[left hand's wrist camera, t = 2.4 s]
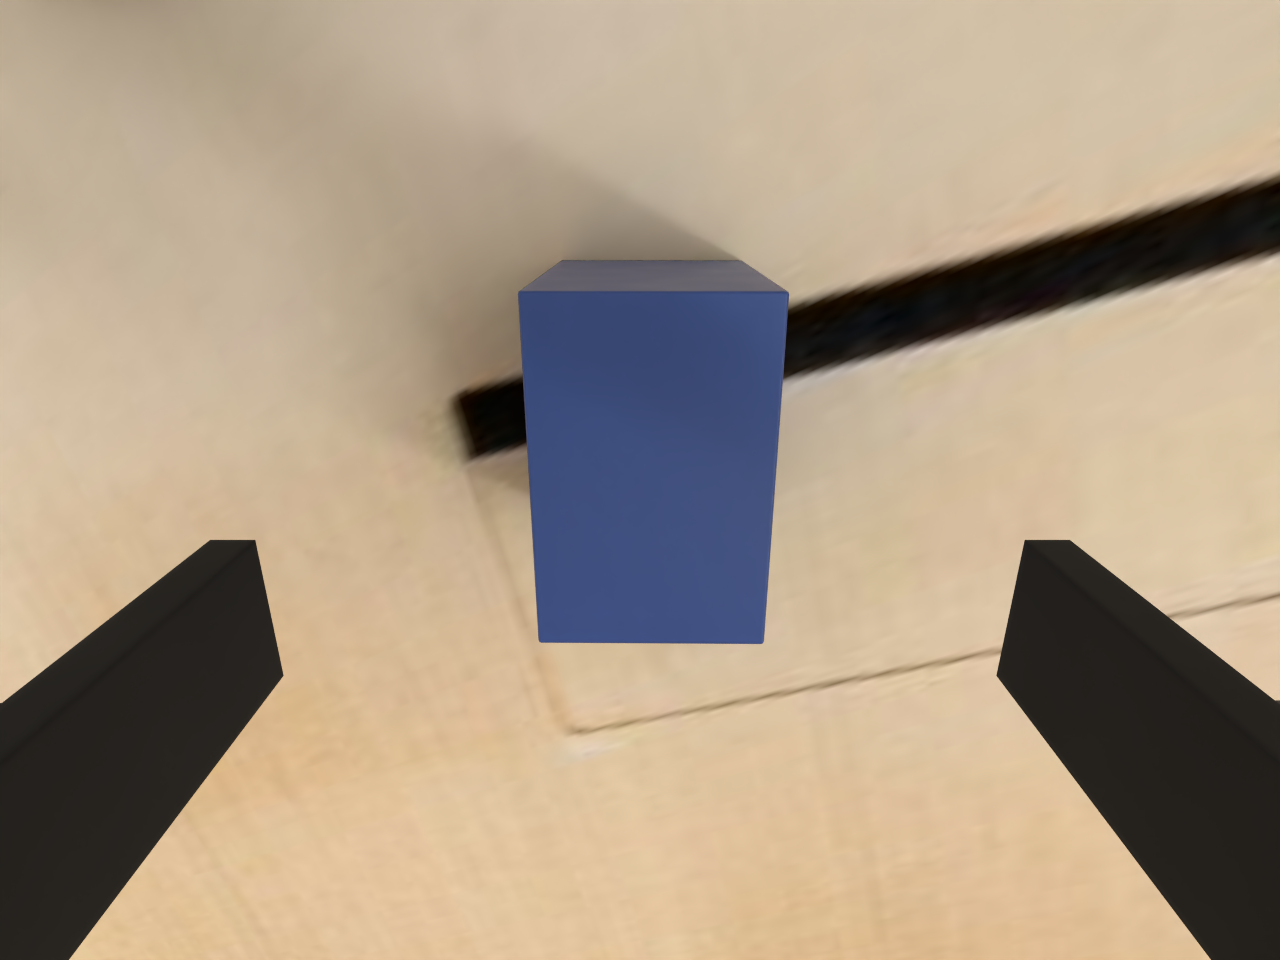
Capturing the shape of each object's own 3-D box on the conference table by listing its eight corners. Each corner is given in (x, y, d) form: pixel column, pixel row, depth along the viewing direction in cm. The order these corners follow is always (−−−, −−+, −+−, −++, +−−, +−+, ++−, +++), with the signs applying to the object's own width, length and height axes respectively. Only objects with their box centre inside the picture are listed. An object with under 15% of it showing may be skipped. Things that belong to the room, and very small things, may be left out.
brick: (560, 260, 24) (517, 291, 16) (743, 260, 24) (789, 291, 16) (570, 514, 27) (538, 643, 19) (730, 514, 27) (763, 645, 19)
